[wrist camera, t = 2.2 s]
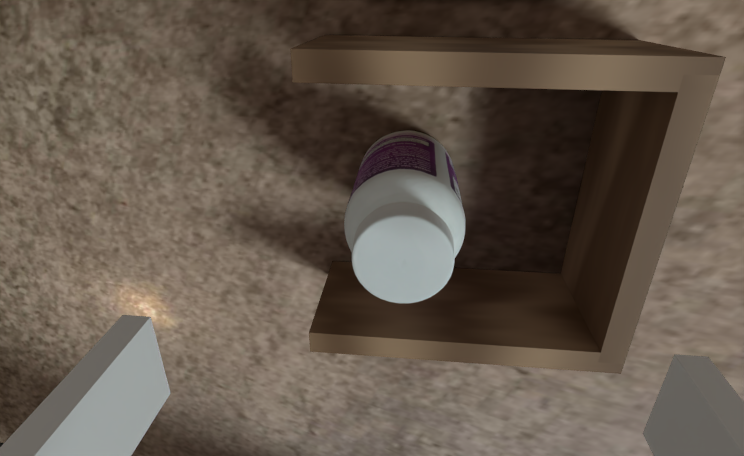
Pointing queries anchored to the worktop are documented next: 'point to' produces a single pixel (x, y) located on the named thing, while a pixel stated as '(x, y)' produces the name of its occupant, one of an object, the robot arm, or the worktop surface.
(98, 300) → the worktop surface
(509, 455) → the worktop surface
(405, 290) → the pill bottle
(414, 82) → the nook
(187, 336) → the worktop surface
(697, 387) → the robot arm
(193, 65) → the worktop surface
